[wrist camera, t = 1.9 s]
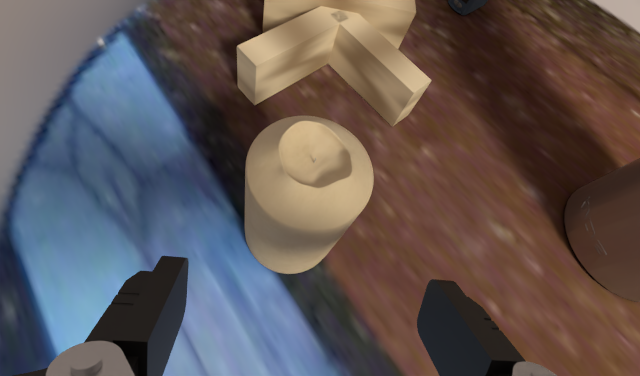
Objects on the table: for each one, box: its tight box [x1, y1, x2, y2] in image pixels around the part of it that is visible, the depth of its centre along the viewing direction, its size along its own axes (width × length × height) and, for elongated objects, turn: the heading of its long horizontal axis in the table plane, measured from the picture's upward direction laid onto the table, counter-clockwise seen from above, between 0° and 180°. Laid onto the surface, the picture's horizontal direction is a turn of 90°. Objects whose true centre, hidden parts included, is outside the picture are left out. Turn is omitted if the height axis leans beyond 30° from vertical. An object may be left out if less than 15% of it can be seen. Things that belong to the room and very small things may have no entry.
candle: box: [245, 116, 374, 274], centre depth 18 cm, size 6×6×10 cm
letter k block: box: [237, 0, 432, 127], centre depth 27 cm, size 13×10×5 cm
